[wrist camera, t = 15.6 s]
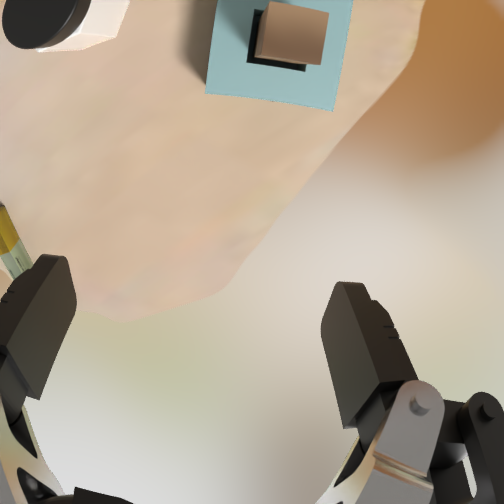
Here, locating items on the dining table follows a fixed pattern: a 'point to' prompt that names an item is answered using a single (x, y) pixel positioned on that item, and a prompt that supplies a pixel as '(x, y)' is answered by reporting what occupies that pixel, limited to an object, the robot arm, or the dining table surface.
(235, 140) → the dining table surface
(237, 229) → the dining table surface
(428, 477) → the robot arm
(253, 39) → the socket block
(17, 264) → the medication box
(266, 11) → the square peg
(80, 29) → the jar
